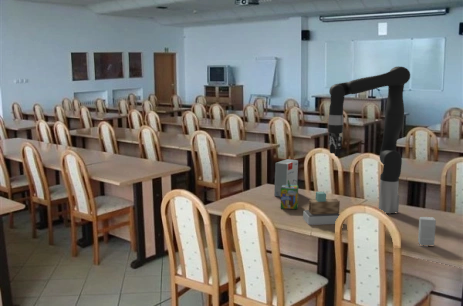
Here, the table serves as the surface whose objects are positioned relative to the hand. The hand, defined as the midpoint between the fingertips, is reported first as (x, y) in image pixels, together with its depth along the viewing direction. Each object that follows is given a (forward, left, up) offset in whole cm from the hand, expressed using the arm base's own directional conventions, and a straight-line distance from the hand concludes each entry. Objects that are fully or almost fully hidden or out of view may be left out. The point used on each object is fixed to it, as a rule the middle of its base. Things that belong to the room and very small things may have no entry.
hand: (334, 154), depth 262 cm
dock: (+11, +17, -30) cm, 36 cm away
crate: (+12, +17, -20) cm, 29 cm away
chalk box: (+21, -9, -30) cm, 38 cm away
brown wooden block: (+10, +17, -26) cm, 32 cm away
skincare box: (-24, +54, -30) cm, 66 cm away
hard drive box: (+17, -35, -30) cm, 49 cm away
